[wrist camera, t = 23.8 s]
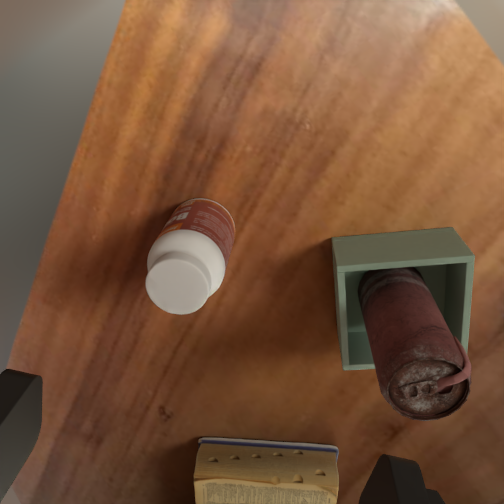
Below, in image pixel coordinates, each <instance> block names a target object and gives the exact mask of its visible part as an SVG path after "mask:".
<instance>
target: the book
mask: <svg viewBox="0 0 504 504" xmlns="http://www.w3.org/2000/svg"><path fill="white" fill-rule="evenodd" d="M198 446H199V447H198V449H199V450H198V453H197V457H196V465H195V472H194V475H193V477H194V488H195V489H194V490H195V502H196V504H336V501H337V493H338V488H339V487H338V484H339V476H338V470H337V464H336V463H337V458H338V453H339V452H338V448H337V447H335V446H332V445H323V444H311V443H299V442H298V443H291V442H275V441H264V440H261V441H260V440H244V439H232V438H231V439H228V438H211V437H210V438H209V437H208V438H206V437H204V438H201V439H199V440H198Z"/></svg>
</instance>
